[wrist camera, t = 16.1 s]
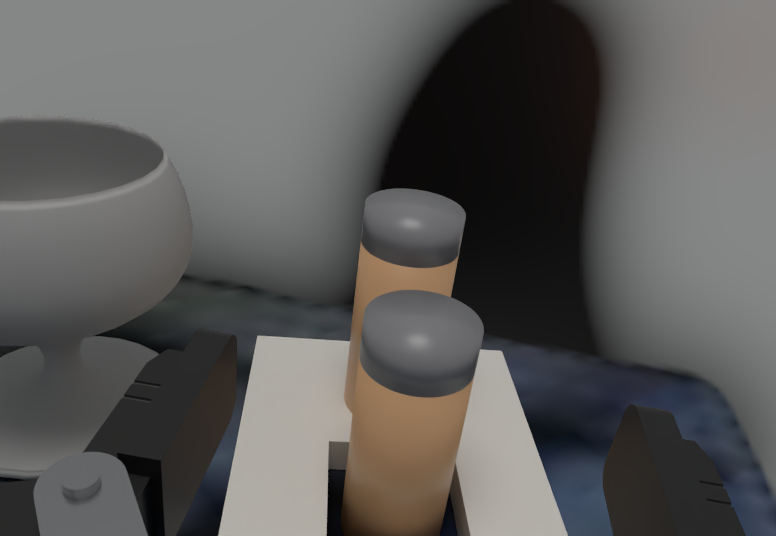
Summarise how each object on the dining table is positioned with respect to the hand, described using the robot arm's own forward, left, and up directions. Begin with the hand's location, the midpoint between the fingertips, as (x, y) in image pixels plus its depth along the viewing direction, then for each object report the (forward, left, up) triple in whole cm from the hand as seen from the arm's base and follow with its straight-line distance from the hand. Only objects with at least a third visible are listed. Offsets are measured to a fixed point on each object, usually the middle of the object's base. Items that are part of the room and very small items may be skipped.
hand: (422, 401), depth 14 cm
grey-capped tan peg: (+2, +12, -18) cm, 22 cm away
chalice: (-16, +20, -18) cm, 31 cm away
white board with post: (+2, +16, -18) cm, 24 cm away
